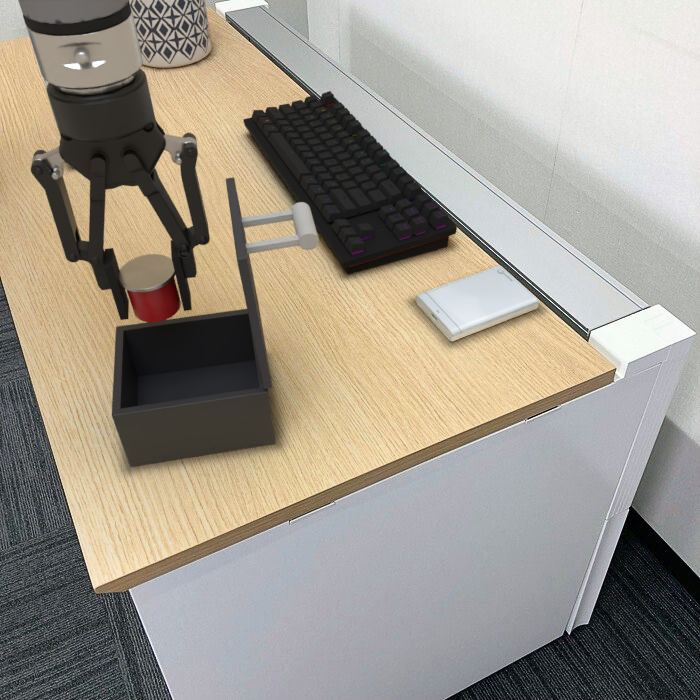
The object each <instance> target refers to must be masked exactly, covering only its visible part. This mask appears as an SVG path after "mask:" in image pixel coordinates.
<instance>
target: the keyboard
mask: <svg viewBox="0 0 700 700" xmlns="http://www.w3.org/2000/svg"><path fill="white" fill-rule="evenodd" d="M243 125H244V127H245V128H246V130H247V131H248V132H249V134H250V135H251V136H250V137H251V138H252V140H253V141H254V142H255V144H256V145H257V147H258V148H259V149H260V151H261V153H262V154H263V155H264V156H265V158H266V159H267V161H268V162H269V164H270V165H271V167H272V168H273V169H274V171H275V172H276V174H277V175H278V176H279V178H280V180H281V181H282V182H283V184H284V185H285V187H286V188H287V190H288V191H289V192H290V194H291V195H292V197H293V198H294V200H295V201H296V203H298V202H304V203H306V204H308V205H309V207H310V210H311V213H312V217H313V220H314V224H315V227H316V231H317V234H318V235H320V237H321V239H322V240H323V241H324V243H325V244H326V246H327V247H328V249H329V250H330V251H331V253H332V254H333V255H334V257H335V258H336V260H337V261H338V263H339V264H340V265H341V267H342V268H343V271H345V273H346V274H347V275H352V274H357V273H360V272H363V271H367V270H372V269H374V268H378V267H382V266H384V265H388V264H393V263H395V262H399V261H403V260H405V259H406V260H407V259H409V258H410V259H411V258H414V257H417V256H420V255H424V254H428V253H432V252H435V251H438V250H442V249H446V248H448V246H449V240H450V239H449V238H450V237H451V236H454V235H456V233H457V229H458V226H457V225H456V224H455V222H454V221H453V220H452V219H450V216H449V214H447V213H446V212H445V211H444V210H443V208H441V207H440V205H439V204H438V203H437V202H436V201H435V200H433V199H432V197H431V196H430V195H429V194H428V193H427V192H425V191H424V189H422V186H421V185H419V182H417V181H415V179H414V178H413V177H412V176H411V175H410V174H409V173H408V172H407V170H406V169H405V168H404V167H403V166H401V164H400V163H399V162H398V161H397V160H396V159H394V158H393V157H392V156H391V155H390V152H388V150H387V149H386V148H384V146H383V145H382V144H381V143H380V142H379V141H377V139H376V138H375V137H374V136H373V135H371V132H370V131H369V130H368V128H365V127H364V126H363V125H362V123H361V122H360V121H359V120H358V119H357V117H356V116H355V115H353V113H351V111H350V110H349V109H348V108H347V107H345V105H344V104H343V103H342V102H340V101H339V100H338V99H337V97H335V95H334V93H333V92H332V91H331V90H329V91H326V92H323V93H321V96H320V99H319V100H318V98H317V97H316V96H315V94H312V95H309V96H306V97H305V98H304V100H302V99H298V100H294V101H292V102H291V104H290V103H283V104H279V105H278V107H277V106H267V107H266V108H265V111H264V109H253V111H252V114H251V116H250V117H248V118H247V117H246V118H243Z"/></svg>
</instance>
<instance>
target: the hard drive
mask: <svg viewBox="0 0 700 700" xmlns="http://www.w3.org/2000/svg"><path fill="white" fill-rule="evenodd" d="M415 303H416V305H417V306H418V307H419V309H420V310H421V311H422V312H423V313H424V314H425V315H426V317H428V318H429V320H430V321H431V322H432V323H433V324H434V325H435V326H436V327H437V328H438V330H439V331H440V332H441V333H442V334H443V335H444V336H445V337H446V339H448V341H450V342H455V341H457V340H460V339H462V338H465V337H469V336H470V335H472V334H476V333H478V332H481V331H484V330H486V329H488V328H491V327H494V326H496V325H499V324H501V323H504V322H506V321H510V320H512V319H514V318H516V317H519V316H522V315H524V314H527V313H530V312H533V311H535V310H537V309H538V308H539V304H540V301H539V299H538V297H536V296H535V295H534V294H533V293H532V292H531V291H530V290H529V289H528V288H526V286H524V284H522V283H521V282H520V281H519V280H517V279H516V277H514V276H513V275H512V274H511V273H510V272H509V271H508V270H507V269H506V268H504V267H503V266H502V265H500V264H499V265H495V266H493V267H490V268H487V269H485V270H482V271H479V272H476V273H474V274H471V275H468V276H465V277H461V278H459V279H457V280H454V281H451V282H448V283H445V284H442V285H439V286H437V287H435V288H431V289H429V290H426V291H423V292H420V293H418V294H416V296H415Z"/></svg>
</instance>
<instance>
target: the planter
mask: <svg viewBox="0 0 700 700" xmlns="http://www.w3.org/2000/svg"><path fill="white" fill-rule="evenodd" d="M129 3H130V7H131V9H132V11H133V16H134V21H135V26H136V30H137V35H138V40H139V45H140V50H141V54H142V59H143V63H142V66H143V65H144V66H147V67H150V68H159V69H166V68H167V69H170V68H179V67H185V66H189V65H192V64H196V63H197V62H199V61H201V60H203V59H204V58H206V57H207V56H208V55H209V54H210V52H212V49H213V47H212V40H211V39H212V38H211V32H210V26H209V19H208V17H209V16H208V11H207V4H206V0H129Z"/></svg>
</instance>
